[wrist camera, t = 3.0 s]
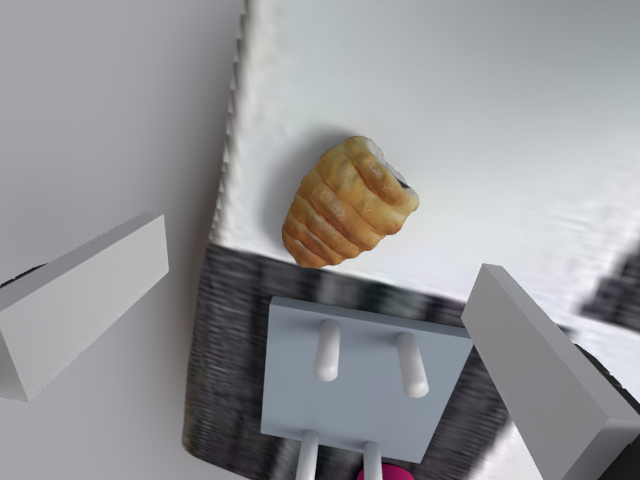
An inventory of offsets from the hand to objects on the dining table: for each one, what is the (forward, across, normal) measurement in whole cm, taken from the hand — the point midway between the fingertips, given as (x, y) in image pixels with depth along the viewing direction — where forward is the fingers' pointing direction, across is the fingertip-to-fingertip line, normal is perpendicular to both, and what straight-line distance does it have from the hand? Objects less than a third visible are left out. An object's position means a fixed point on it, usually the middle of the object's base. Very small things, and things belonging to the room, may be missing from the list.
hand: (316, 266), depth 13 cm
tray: (+9, +4, -17) cm, 20 cm away
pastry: (+10, +1, 0) cm, 10 cm away
